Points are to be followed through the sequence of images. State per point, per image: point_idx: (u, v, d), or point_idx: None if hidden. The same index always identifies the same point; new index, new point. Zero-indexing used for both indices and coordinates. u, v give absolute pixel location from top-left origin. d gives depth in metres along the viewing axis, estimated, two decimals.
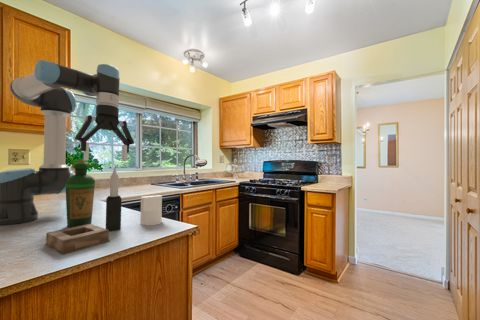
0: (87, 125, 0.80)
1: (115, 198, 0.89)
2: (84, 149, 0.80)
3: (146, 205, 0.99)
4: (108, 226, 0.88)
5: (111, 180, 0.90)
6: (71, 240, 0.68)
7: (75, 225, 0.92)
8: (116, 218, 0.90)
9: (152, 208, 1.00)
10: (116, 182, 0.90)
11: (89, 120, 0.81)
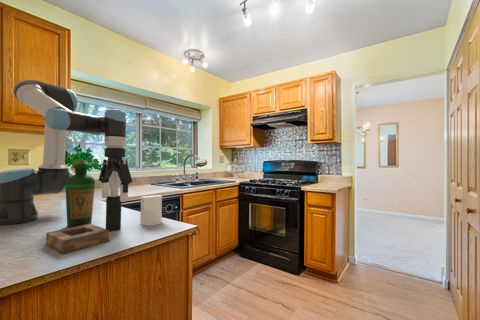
0: (102, 168, 0.94)
1: (115, 198, 0.89)
2: None
3: (146, 205, 0.99)
4: (108, 226, 0.88)
5: (111, 180, 0.90)
6: (71, 240, 0.68)
7: (75, 225, 0.92)
8: (116, 218, 0.90)
9: (152, 208, 1.00)
10: (116, 182, 0.90)
11: (103, 163, 0.94)
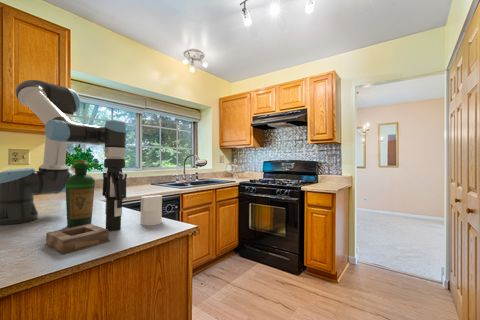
0: (104, 181, 0.93)
1: (115, 198, 0.89)
2: None
3: (146, 205, 0.99)
4: (108, 226, 0.88)
5: (111, 180, 0.90)
6: (71, 240, 0.68)
7: (75, 225, 0.92)
8: (116, 218, 0.90)
9: (152, 208, 1.00)
10: None
11: (103, 177, 0.93)
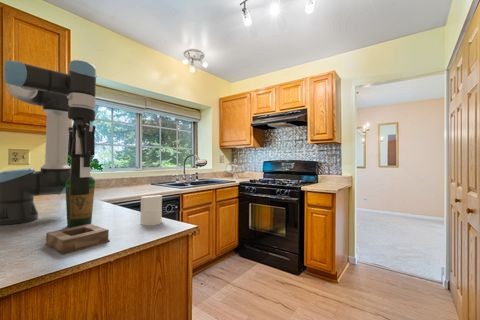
0: (69, 138, 0.77)
1: None
2: None
3: (146, 205, 0.99)
4: (72, 189, 0.72)
5: (77, 134, 0.74)
6: (71, 240, 0.68)
7: (75, 225, 0.92)
8: (83, 179, 0.74)
9: (152, 208, 1.00)
10: None
11: (69, 132, 0.77)
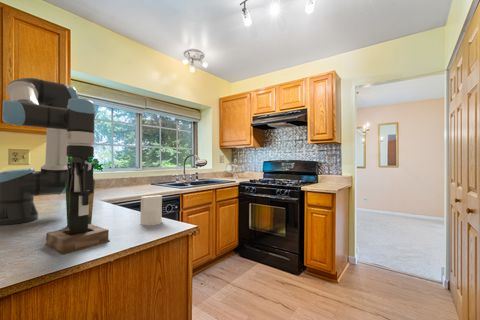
0: (68, 174, 0.77)
1: None
2: None
3: (146, 205, 0.99)
4: (71, 228, 0.72)
5: (75, 172, 0.74)
6: (71, 240, 0.68)
7: None
8: (82, 217, 0.74)
9: (152, 208, 1.00)
10: None
11: (68, 168, 0.77)
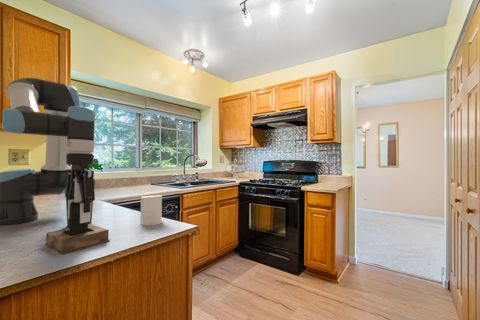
0: (67, 180, 0.77)
1: None
2: (69, 207, 0.77)
3: (146, 205, 0.99)
4: None
5: (76, 182, 0.74)
6: (71, 240, 0.68)
7: None
8: (82, 228, 0.74)
9: (152, 208, 1.00)
10: None
11: (67, 174, 0.77)
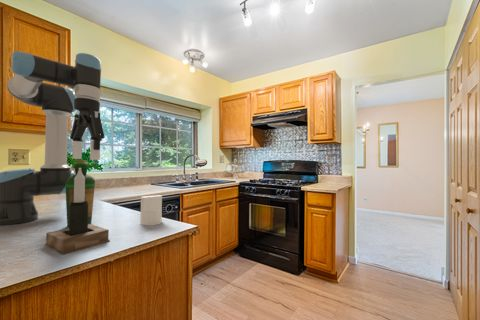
0: (74, 124, 0.82)
1: (80, 204, 0.74)
2: None
3: (146, 205, 0.99)
4: None
5: (75, 182, 0.74)
6: (71, 240, 0.68)
7: None
8: (81, 228, 0.74)
9: (152, 208, 1.00)
10: (81, 185, 0.75)
11: (74, 119, 0.82)
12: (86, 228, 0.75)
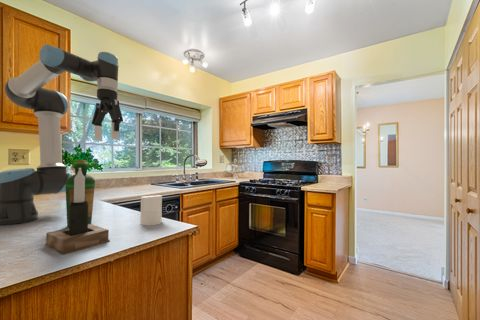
0: (95, 111, 0.98)
1: (80, 204, 0.74)
2: None
3: (146, 205, 0.99)
4: None
5: (75, 182, 0.74)
6: (71, 240, 0.68)
7: None
8: (81, 228, 0.74)
9: (152, 208, 1.00)
10: (81, 185, 0.75)
11: (96, 107, 0.97)
12: (86, 228, 0.75)
